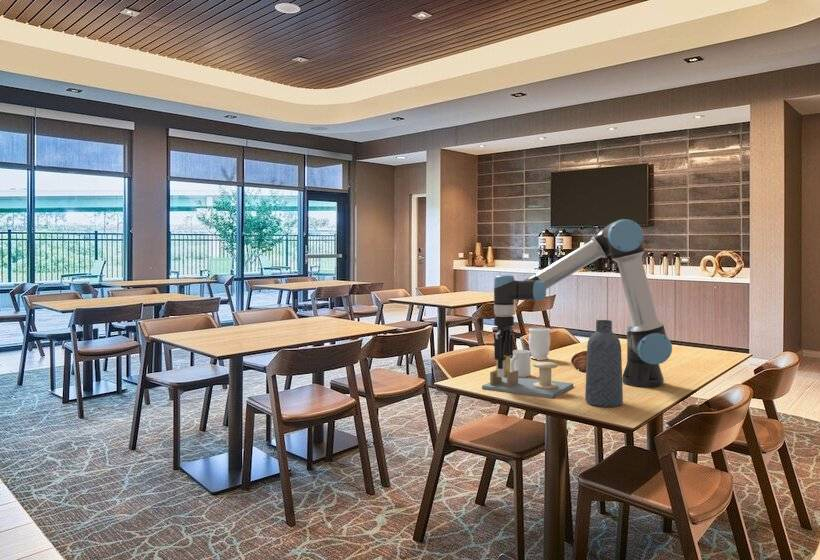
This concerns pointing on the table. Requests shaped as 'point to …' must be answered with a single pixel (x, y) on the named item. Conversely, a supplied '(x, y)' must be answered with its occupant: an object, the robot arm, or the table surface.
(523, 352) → the mug
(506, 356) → the beige upright block
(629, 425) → the table surface
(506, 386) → the board
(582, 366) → the pastry
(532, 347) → the jar
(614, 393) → the vase
